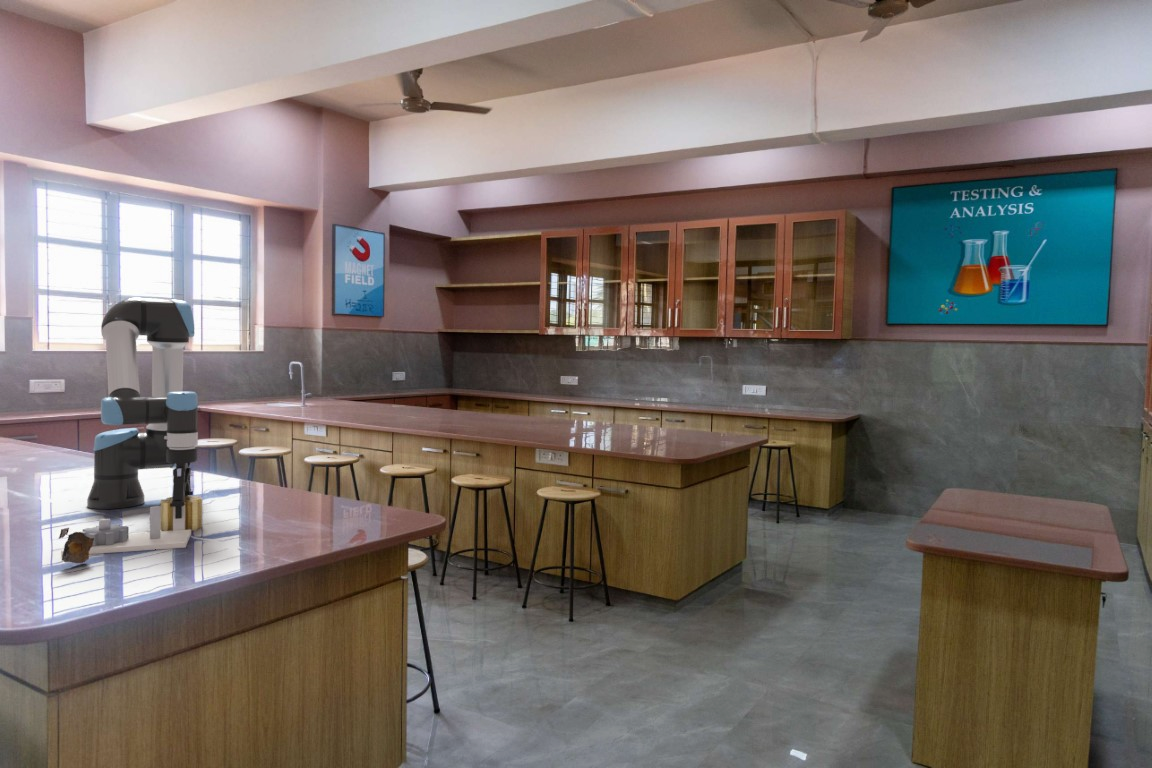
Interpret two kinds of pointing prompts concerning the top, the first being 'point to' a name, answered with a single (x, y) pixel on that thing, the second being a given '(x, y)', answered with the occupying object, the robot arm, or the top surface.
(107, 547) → the gear board
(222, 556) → the top surface
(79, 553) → the rock
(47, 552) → the top surface
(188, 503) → the brass gear
